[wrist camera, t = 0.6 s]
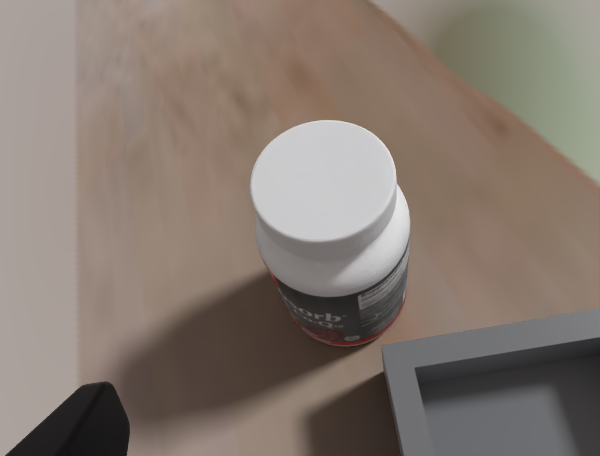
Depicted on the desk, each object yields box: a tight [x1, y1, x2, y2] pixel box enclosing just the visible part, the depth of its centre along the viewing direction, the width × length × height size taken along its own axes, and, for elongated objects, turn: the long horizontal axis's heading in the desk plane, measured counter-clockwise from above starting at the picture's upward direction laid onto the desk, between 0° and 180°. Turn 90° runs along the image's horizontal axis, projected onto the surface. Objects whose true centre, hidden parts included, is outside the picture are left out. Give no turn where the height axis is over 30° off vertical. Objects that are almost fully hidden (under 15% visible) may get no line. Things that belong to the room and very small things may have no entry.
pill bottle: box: [250, 120, 410, 346], centre depth 21 cm, size 6×6×10 cm
